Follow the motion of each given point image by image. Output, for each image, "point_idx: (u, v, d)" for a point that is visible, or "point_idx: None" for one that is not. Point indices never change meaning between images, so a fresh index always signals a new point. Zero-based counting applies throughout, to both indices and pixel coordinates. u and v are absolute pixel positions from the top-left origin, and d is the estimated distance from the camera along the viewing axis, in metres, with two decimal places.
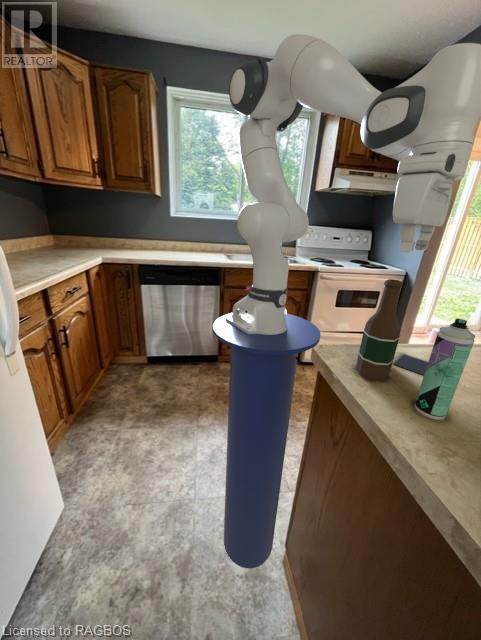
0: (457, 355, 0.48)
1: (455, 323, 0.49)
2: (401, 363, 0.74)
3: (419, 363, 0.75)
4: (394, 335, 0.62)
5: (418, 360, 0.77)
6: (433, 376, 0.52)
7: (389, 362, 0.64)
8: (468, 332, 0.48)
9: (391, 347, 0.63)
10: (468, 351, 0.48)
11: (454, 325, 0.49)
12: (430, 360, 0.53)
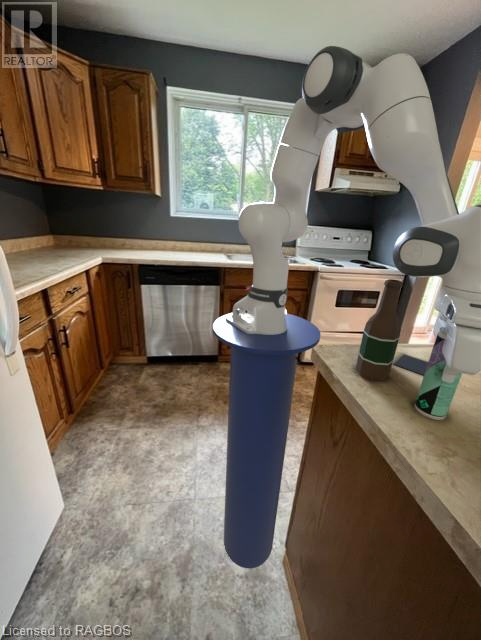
0: None
1: None
2: (401, 363, 0.74)
3: (419, 363, 0.75)
4: (394, 335, 0.62)
5: (418, 360, 0.77)
6: (433, 376, 0.52)
7: (389, 362, 0.64)
8: None
9: (391, 347, 0.63)
10: None
11: None
12: (430, 360, 0.53)
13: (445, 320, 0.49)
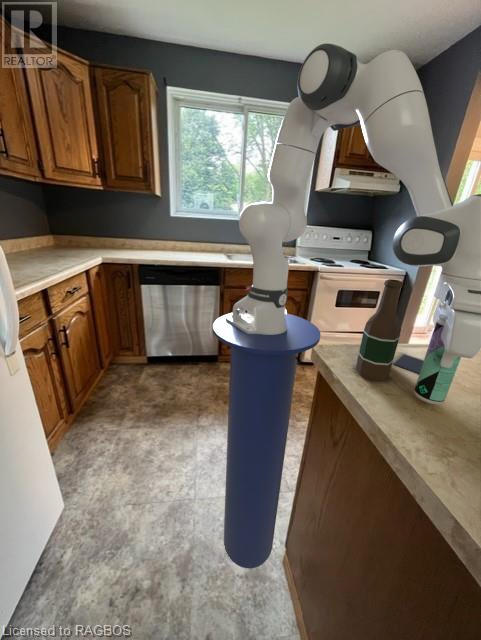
0: None
1: None
2: (401, 363, 0.74)
3: (419, 363, 0.75)
4: (394, 335, 0.62)
5: (418, 360, 0.77)
6: (432, 361, 0.53)
7: (389, 362, 0.64)
8: None
9: (391, 347, 0.63)
10: None
11: None
12: (429, 347, 0.54)
13: (444, 307, 0.50)
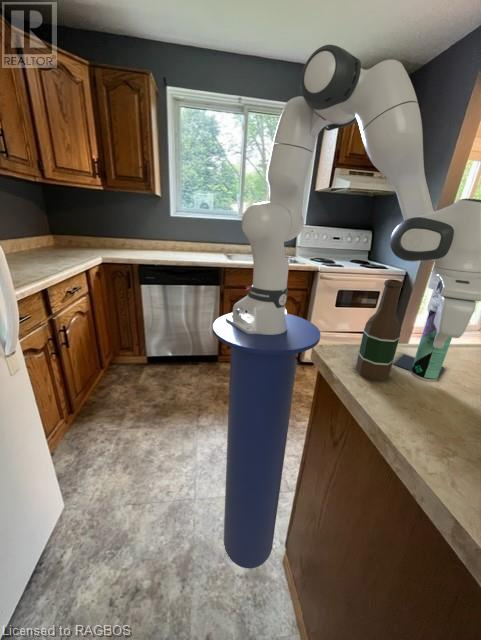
0: None
1: None
2: (401, 363, 0.74)
3: None
4: (394, 335, 0.62)
5: None
6: (427, 344, 0.61)
7: (389, 362, 0.64)
8: None
9: (391, 347, 0.63)
10: None
11: None
12: (424, 331, 0.62)
13: (436, 296, 0.58)
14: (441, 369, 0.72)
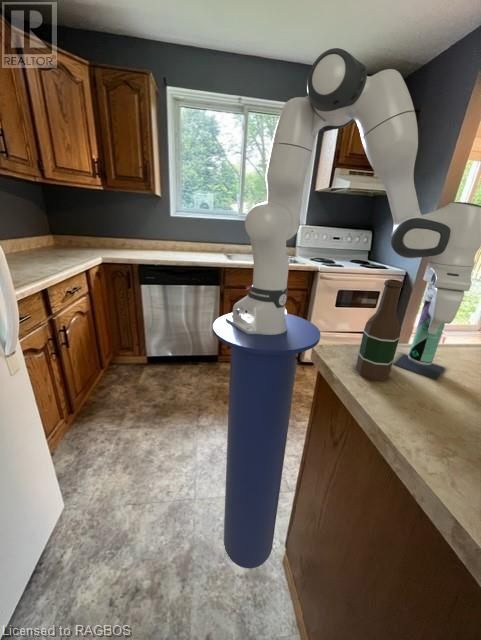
0: None
1: None
2: (401, 363, 0.74)
3: None
4: (394, 335, 0.62)
5: None
6: (422, 331, 0.69)
7: (389, 362, 0.64)
8: None
9: (391, 347, 0.63)
10: None
11: None
12: (420, 319, 0.70)
13: (430, 287, 0.66)
14: (441, 369, 0.72)
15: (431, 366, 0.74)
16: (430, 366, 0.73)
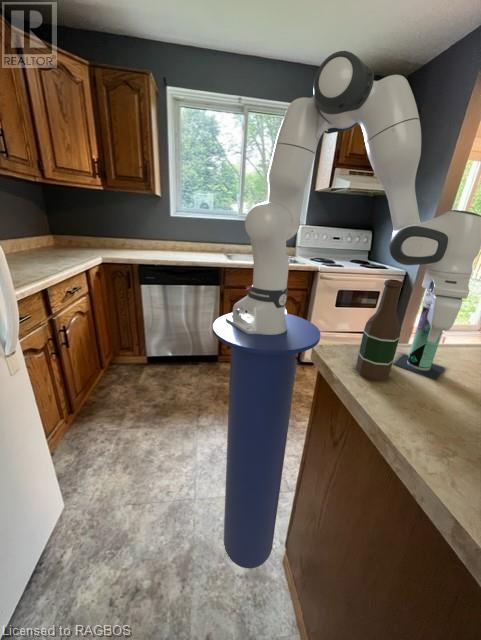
0: None
1: None
2: (401, 363, 0.74)
3: None
4: (394, 335, 0.62)
5: None
6: (420, 337, 0.70)
7: (389, 362, 0.64)
8: None
9: (391, 347, 0.63)
10: None
11: None
12: (418, 325, 0.70)
13: (429, 294, 0.66)
14: (441, 369, 0.72)
15: (431, 366, 0.74)
16: None
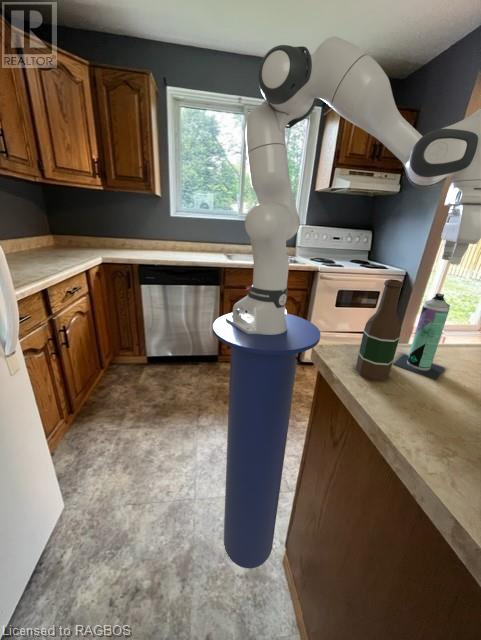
0: (437, 320, 0.66)
1: (435, 296, 0.67)
2: (401, 363, 0.74)
3: None
4: (394, 335, 0.62)
5: None
6: (420, 336, 0.70)
7: (389, 362, 0.64)
8: (445, 303, 0.66)
9: (391, 347, 0.63)
10: (445, 317, 0.66)
11: (435, 298, 0.67)
12: (418, 325, 0.70)
13: (453, 212, 0.60)
14: (441, 369, 0.72)
15: (431, 366, 0.74)
16: None
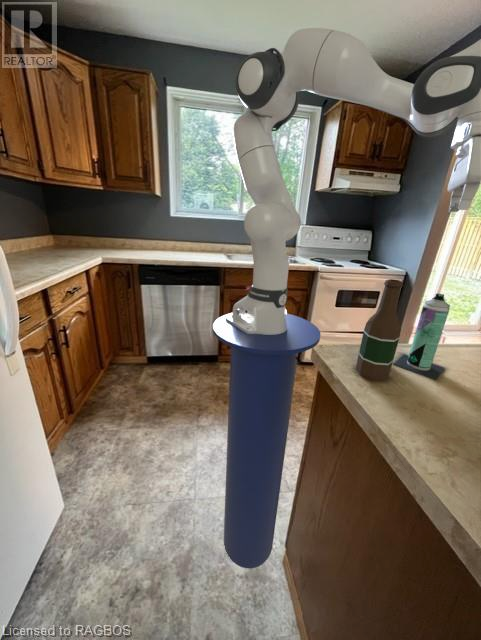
0: (437, 320, 0.66)
1: (436, 296, 0.67)
2: (401, 363, 0.74)
3: None
4: (394, 335, 0.62)
5: None
6: (420, 337, 0.70)
7: (389, 362, 0.64)
8: (445, 303, 0.66)
9: (391, 347, 0.63)
10: (445, 317, 0.66)
11: (435, 298, 0.67)
12: (418, 325, 0.70)
13: (461, 152, 0.54)
14: (441, 369, 0.72)
15: (431, 366, 0.74)
16: None
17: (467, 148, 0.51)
